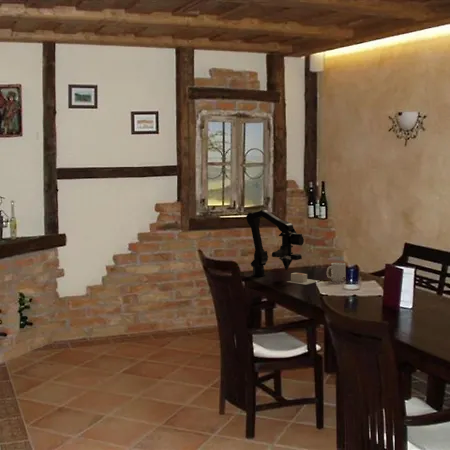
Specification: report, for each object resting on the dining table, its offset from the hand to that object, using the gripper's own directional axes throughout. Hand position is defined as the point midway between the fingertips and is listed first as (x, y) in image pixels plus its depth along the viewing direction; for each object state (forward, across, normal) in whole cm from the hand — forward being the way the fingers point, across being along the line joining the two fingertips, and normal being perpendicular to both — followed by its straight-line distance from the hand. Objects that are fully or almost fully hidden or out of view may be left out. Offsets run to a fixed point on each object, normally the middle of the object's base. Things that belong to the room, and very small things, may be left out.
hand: (286, 269), depth 424 cm
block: (+3, +5, 0) cm, 6 cm away
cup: (+6, +26, +14) cm, 30 cm away
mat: (+6, +13, 0) cm, 14 cm away
